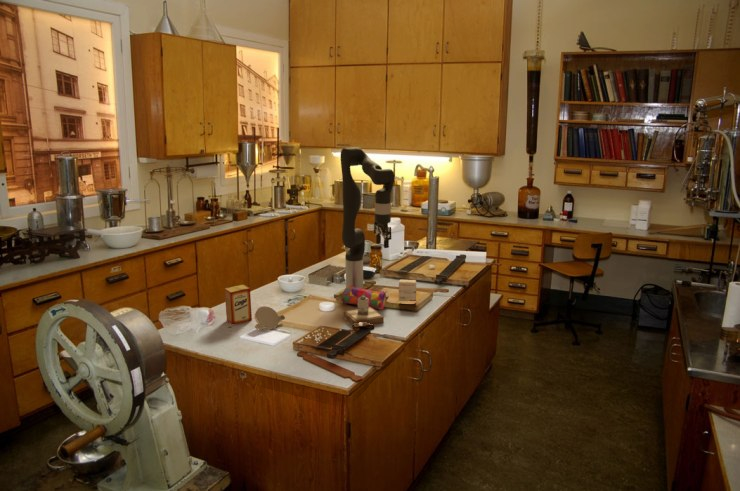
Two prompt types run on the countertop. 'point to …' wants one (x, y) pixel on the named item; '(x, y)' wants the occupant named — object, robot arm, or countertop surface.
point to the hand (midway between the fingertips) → (382, 245)
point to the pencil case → (375, 298)
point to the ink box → (407, 290)
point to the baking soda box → (238, 304)
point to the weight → (363, 305)
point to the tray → (363, 317)
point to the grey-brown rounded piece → (267, 318)
